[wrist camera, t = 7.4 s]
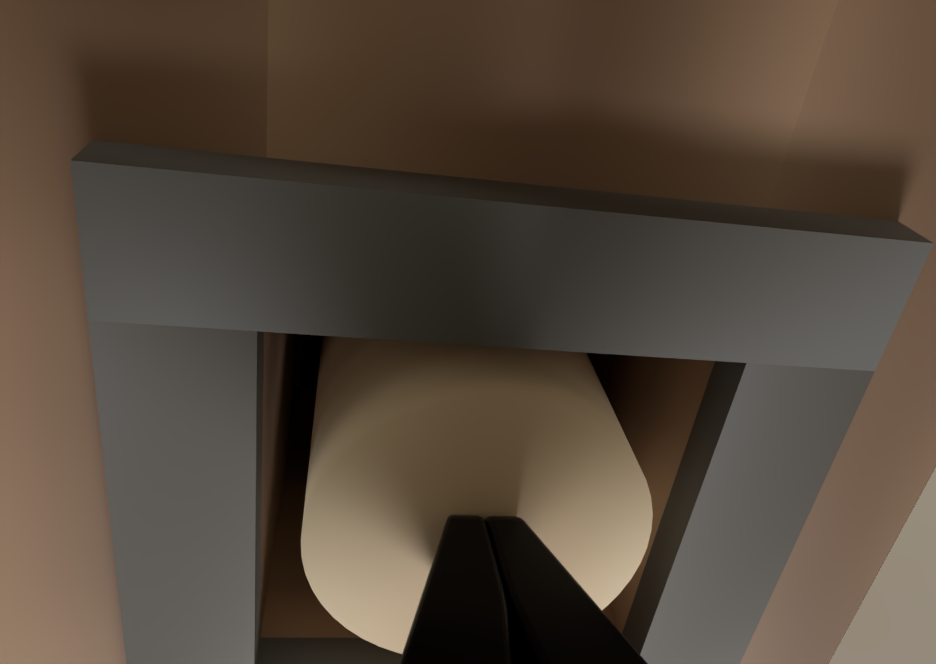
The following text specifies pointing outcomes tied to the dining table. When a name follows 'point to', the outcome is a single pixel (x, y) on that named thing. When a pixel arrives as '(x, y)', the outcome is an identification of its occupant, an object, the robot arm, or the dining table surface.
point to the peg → (460, 471)
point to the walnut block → (458, 293)
